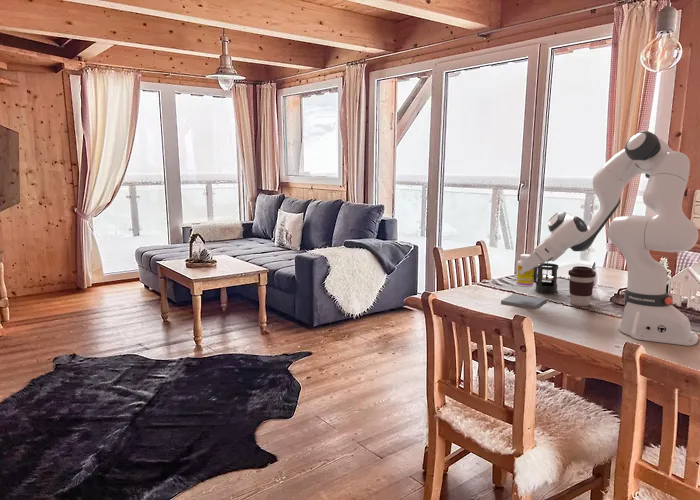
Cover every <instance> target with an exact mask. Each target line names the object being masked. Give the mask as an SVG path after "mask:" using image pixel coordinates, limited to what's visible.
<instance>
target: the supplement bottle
mask: <svg viewBox="0 0 700 500" xmlns="http://www.w3.org/2000/svg"><path fill="white" fill-rule="evenodd" d="M530 255H531V254H529V253H522V254H520V255H519V257H520V260H517V264H516V281H515V282H516V286H518V287H521V288H532V287H533V286H534V268H533V269H531V270H530V271H526V272H525V273H524V274H522V275H521V274H520V273H519V271H520V270H521V269H522V268H523V267H522V263H523V262H524V261H525V260H526V259H527V258H528V257H529V256H530Z"/></svg>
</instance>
